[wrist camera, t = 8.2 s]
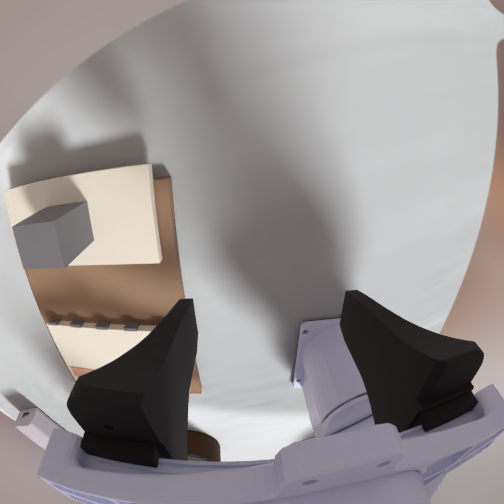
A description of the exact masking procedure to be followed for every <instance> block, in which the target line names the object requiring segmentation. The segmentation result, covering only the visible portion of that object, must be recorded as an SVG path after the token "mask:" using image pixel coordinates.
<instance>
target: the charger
mask: <svg viewBox="0 0 504 504" xmlns="http://www.w3.org/2000/svg"><path fill="white" fill-rule="evenodd" d="M26 412H29V413H26ZM14 426H15V427H16V428H18V429H19V430H20V431H21V432H22V433H24V434H25V435H26V436H28V437H29V438H30V439H31V440H33V441H34V442H35V443H37V444H38V445H39V446H41V447H42V448H43V449H46V446H47V444H48V441H49V438H50V436H51V433H52V431H53V428H58V429H61V430H64V429H63V428H61V427H60V426H59V425H58V424H56V423H55V422H54V421H53V420H51V419H50V418H49V417H48V416H46V415H45V414H44V413H43V412H42V411H41V410H39V409H38V408H37V407H36V408H31V409H26V410H22V411H21V412H20V413H19V415H18V417H17V420H16V422H15V424H14ZM64 431H65V430H64Z"/></svg>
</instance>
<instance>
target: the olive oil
mask: <svg viewBox="0 0 504 504" xmlns="http://www.w3.org/2000/svg"><path fill="white" fill-rule="evenodd" d="M187 454H188V461H207V462H221V459H220V445H219V443H218V442H217V441H216V440H215V439H213V438H212V437H210V436H207V435H205V434H201V433H198V432H193V431H187Z"/></svg>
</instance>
